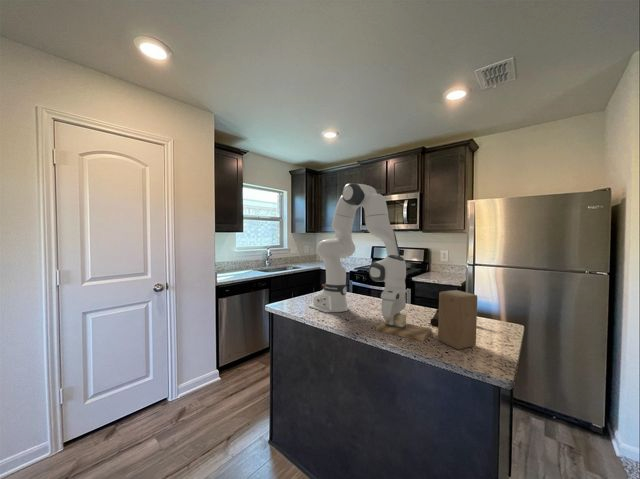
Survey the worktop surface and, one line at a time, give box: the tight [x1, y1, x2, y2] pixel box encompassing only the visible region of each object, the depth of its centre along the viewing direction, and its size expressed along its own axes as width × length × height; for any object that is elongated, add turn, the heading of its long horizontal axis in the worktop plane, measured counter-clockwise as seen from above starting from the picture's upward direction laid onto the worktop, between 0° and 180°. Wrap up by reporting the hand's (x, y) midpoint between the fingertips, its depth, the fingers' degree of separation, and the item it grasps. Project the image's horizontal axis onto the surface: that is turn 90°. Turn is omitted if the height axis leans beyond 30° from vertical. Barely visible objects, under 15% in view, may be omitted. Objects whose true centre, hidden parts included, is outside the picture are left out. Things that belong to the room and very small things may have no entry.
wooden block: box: [437, 289, 478, 350], centre depth 106 cm, size 10×10×20 cm
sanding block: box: [384, 313, 407, 329], centre depth 122 cm, size 8×4×5 cm, turn 54°
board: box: [375, 320, 432, 342], centre depth 119 cm, size 20×13×2 cm, turn 54°
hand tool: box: [430, 307, 439, 327], centre depth 134 cm, size 19×4×5 cm, turn 147°
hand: (394, 322), depth 122 cm, fingers closed on sanding block, 4 cm apart
